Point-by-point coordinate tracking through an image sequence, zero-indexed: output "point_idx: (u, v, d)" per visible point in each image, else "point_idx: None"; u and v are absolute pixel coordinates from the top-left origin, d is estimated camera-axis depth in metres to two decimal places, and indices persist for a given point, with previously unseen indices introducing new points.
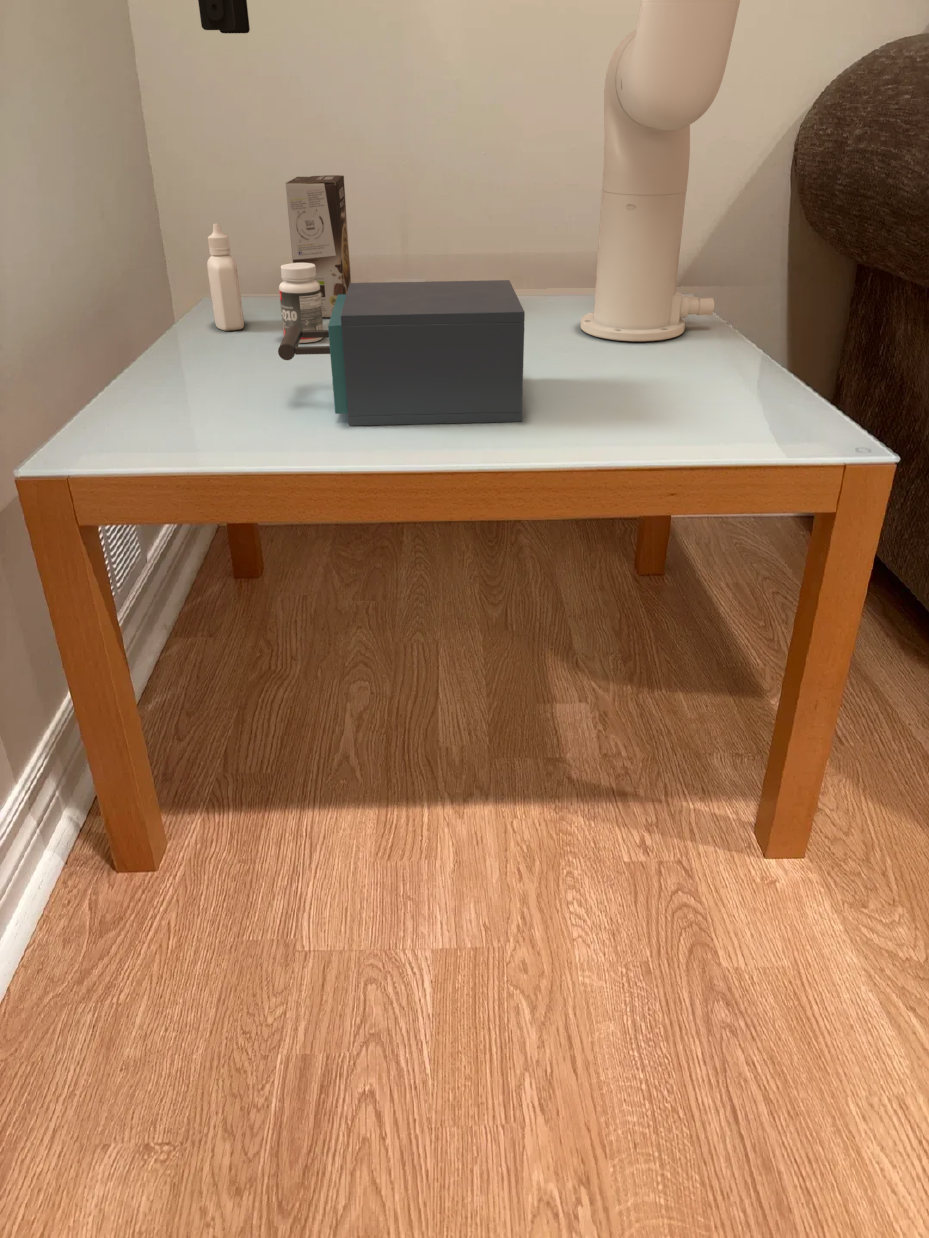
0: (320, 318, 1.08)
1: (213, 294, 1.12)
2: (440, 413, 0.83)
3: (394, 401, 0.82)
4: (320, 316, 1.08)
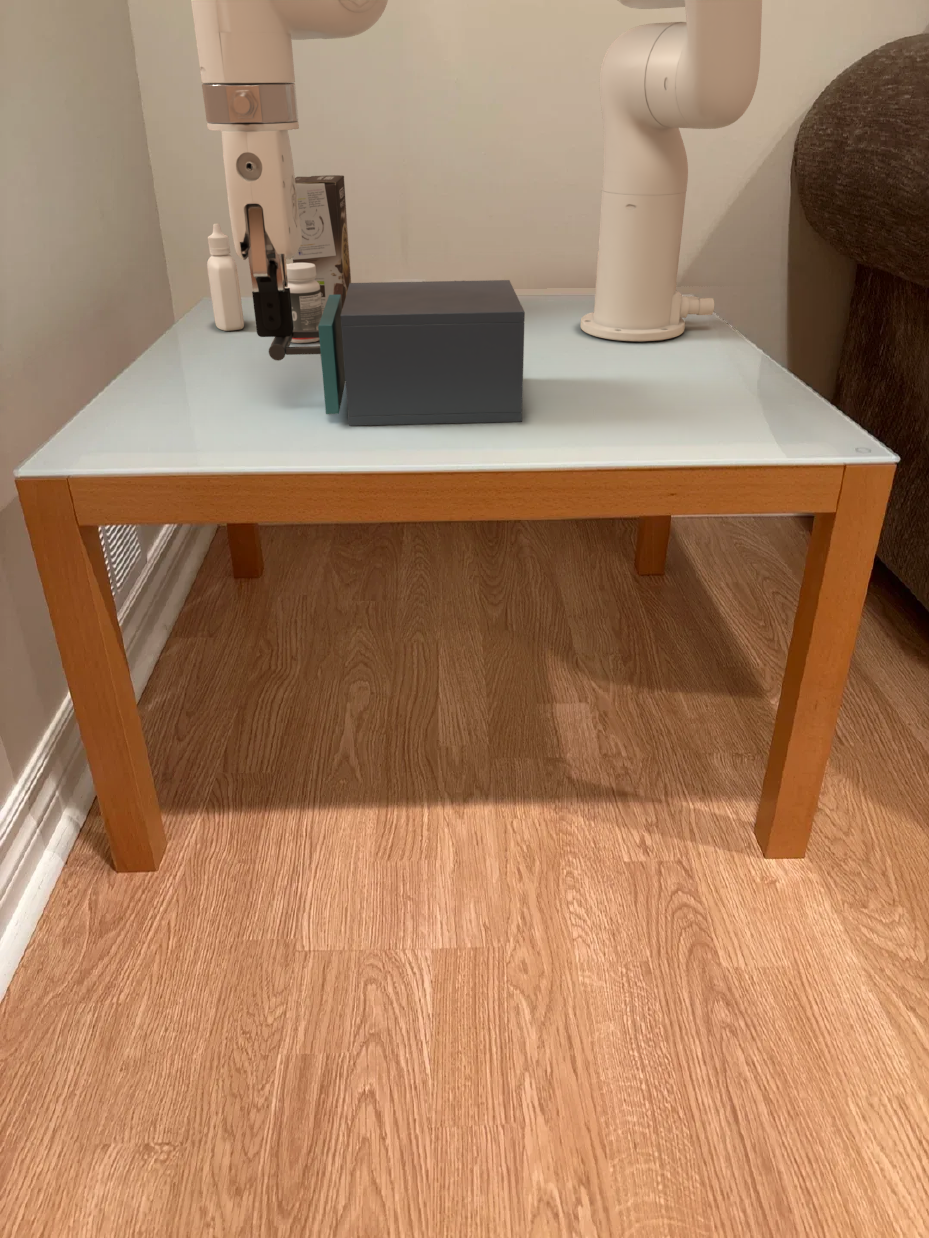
0: (320, 318, 1.08)
1: (213, 294, 1.12)
2: (440, 413, 0.83)
3: (394, 401, 0.82)
4: (320, 316, 1.08)
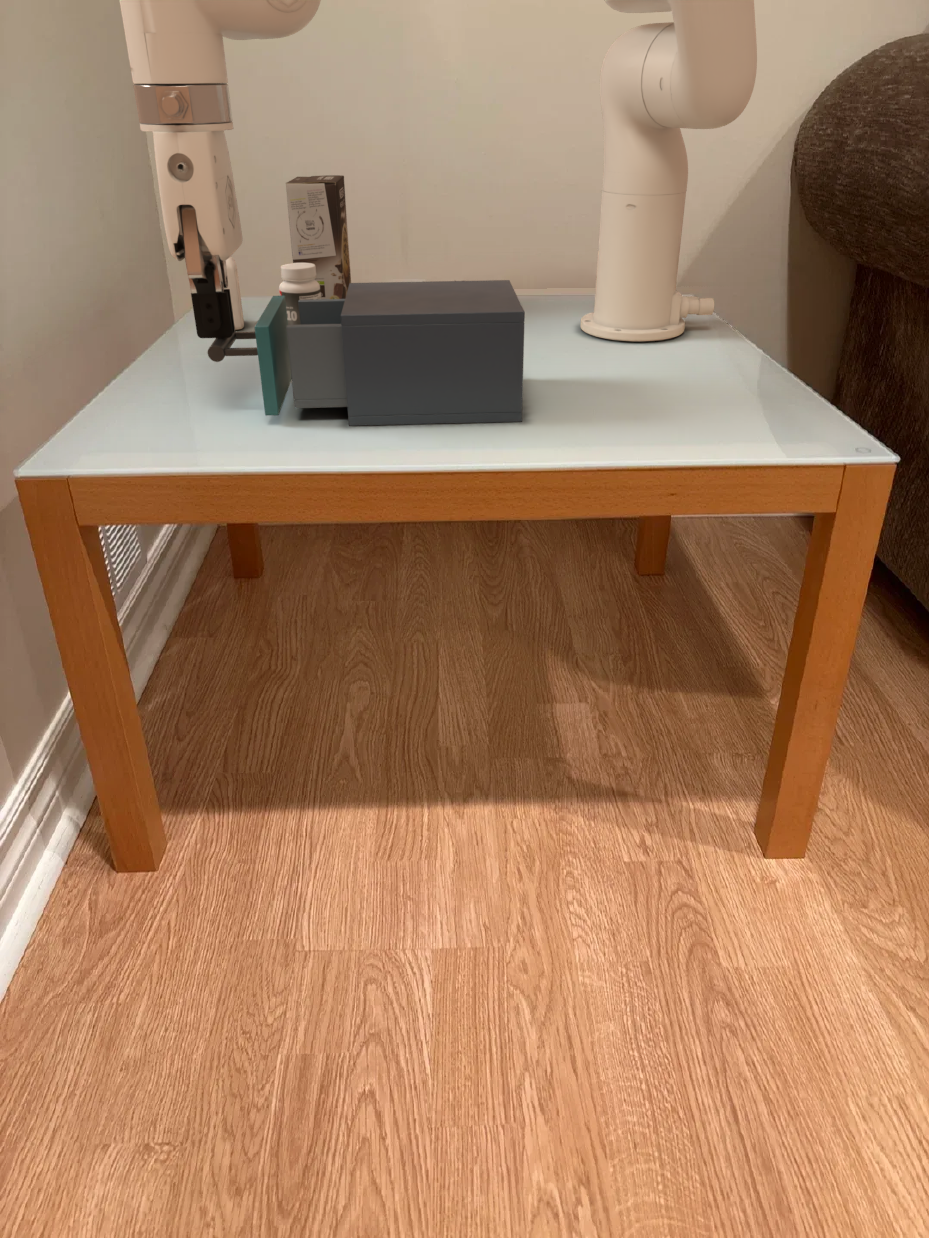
0: None
1: None
2: (440, 413, 0.83)
3: (394, 401, 0.82)
4: None
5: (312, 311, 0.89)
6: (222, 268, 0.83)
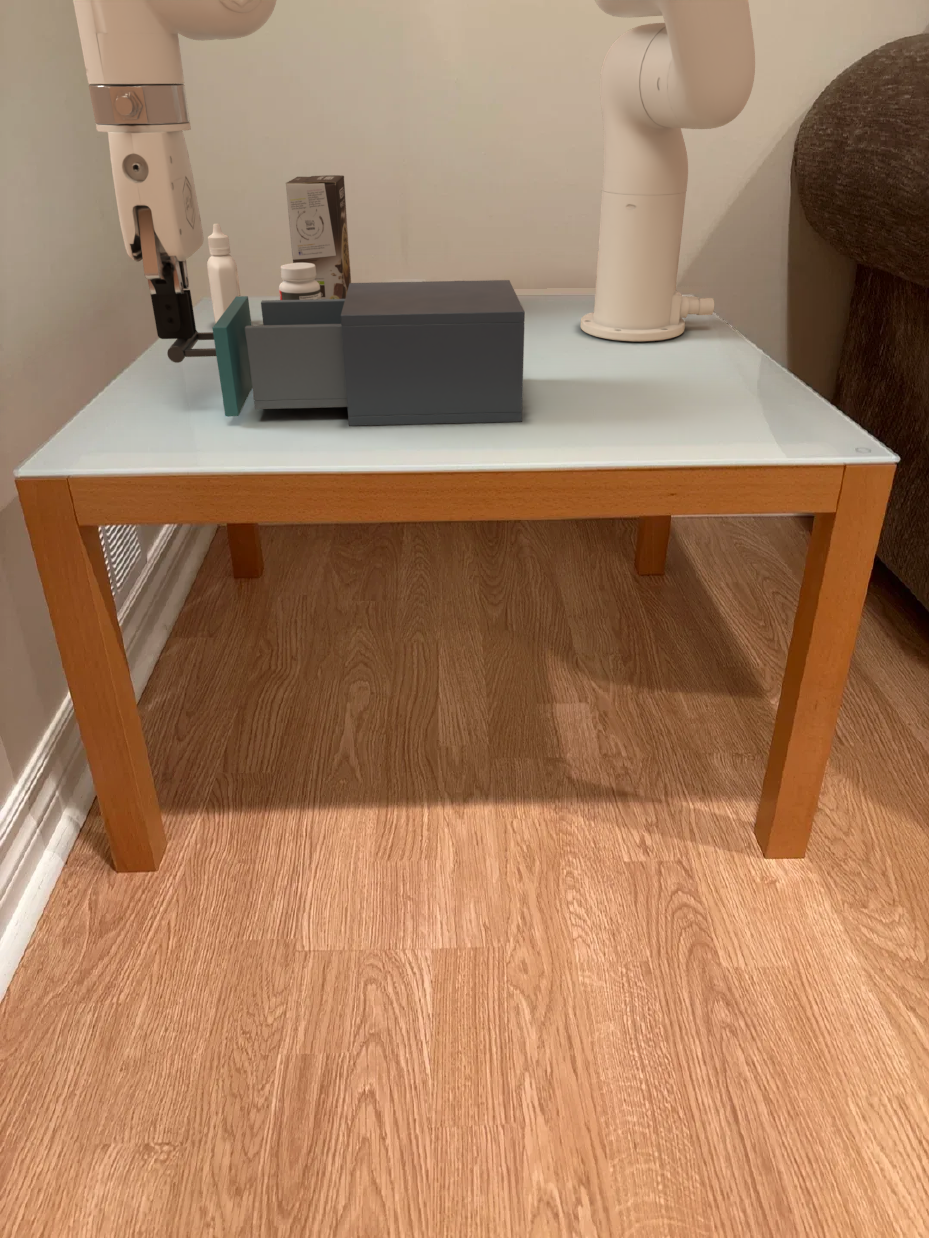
0: None
1: (213, 294, 1.12)
2: (440, 413, 0.83)
3: (394, 401, 0.82)
4: None
5: (274, 312, 0.89)
6: (182, 269, 0.83)
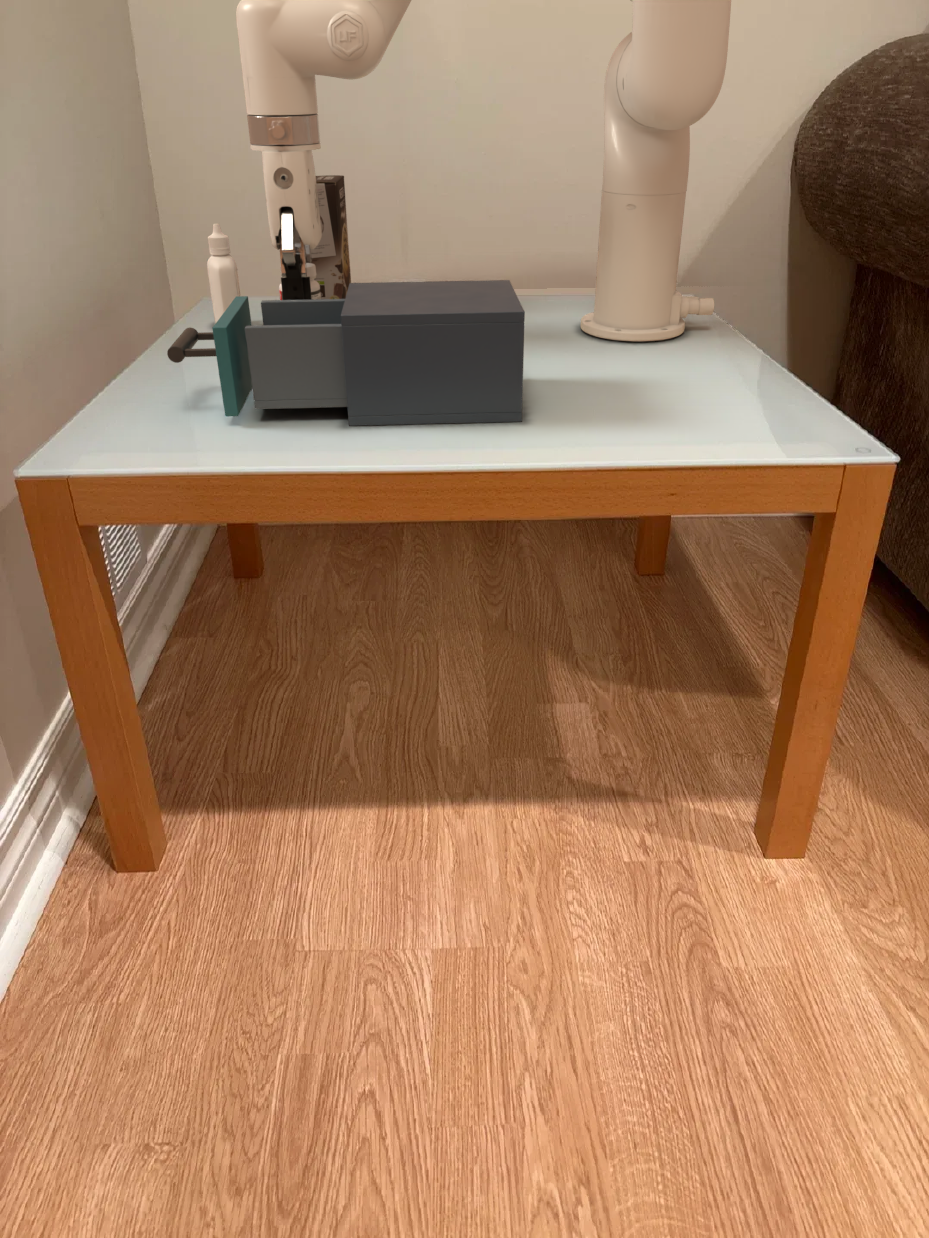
0: None
1: (213, 294, 1.12)
2: (440, 413, 0.83)
3: (394, 401, 0.82)
4: None
5: (274, 312, 0.89)
6: (309, 254, 1.08)
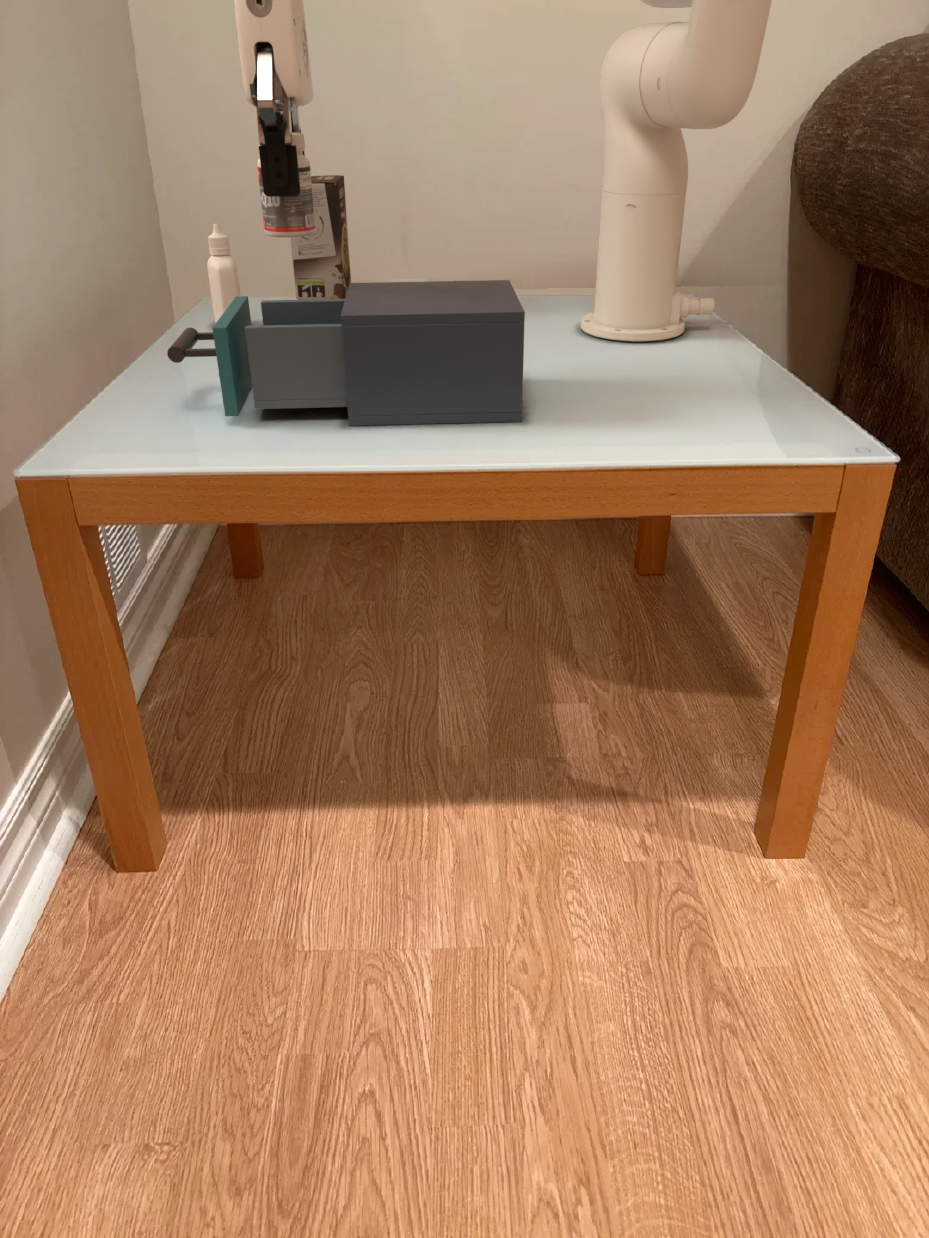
0: (310, 205, 0.84)
1: (213, 294, 1.12)
2: (440, 413, 0.83)
3: (394, 401, 0.82)
4: (311, 203, 0.84)
5: (274, 312, 0.89)
6: (296, 122, 0.84)
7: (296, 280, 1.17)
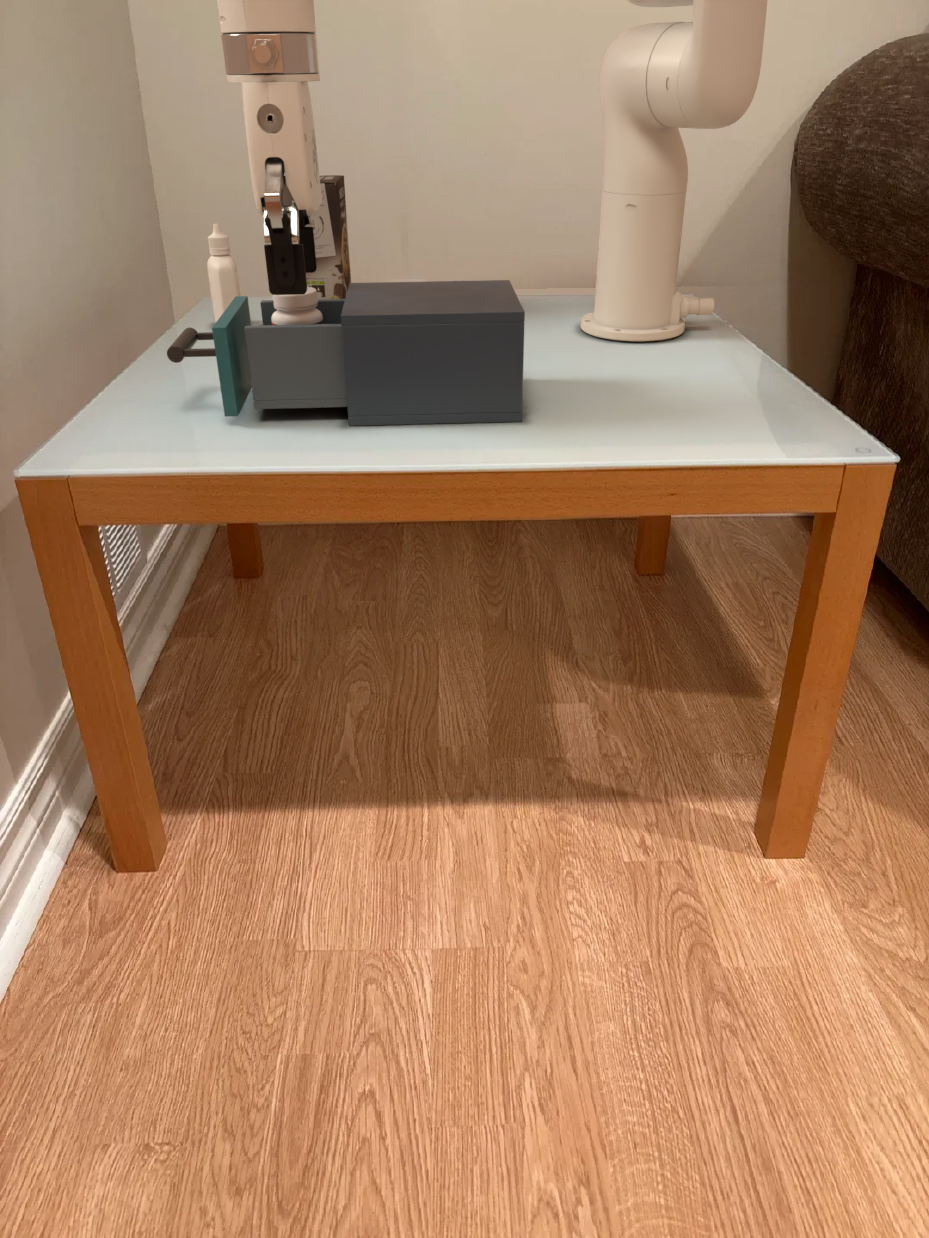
0: None
1: (213, 294, 1.12)
2: (440, 413, 0.83)
3: (394, 401, 0.82)
4: None
5: None
6: (306, 215, 0.84)
7: None
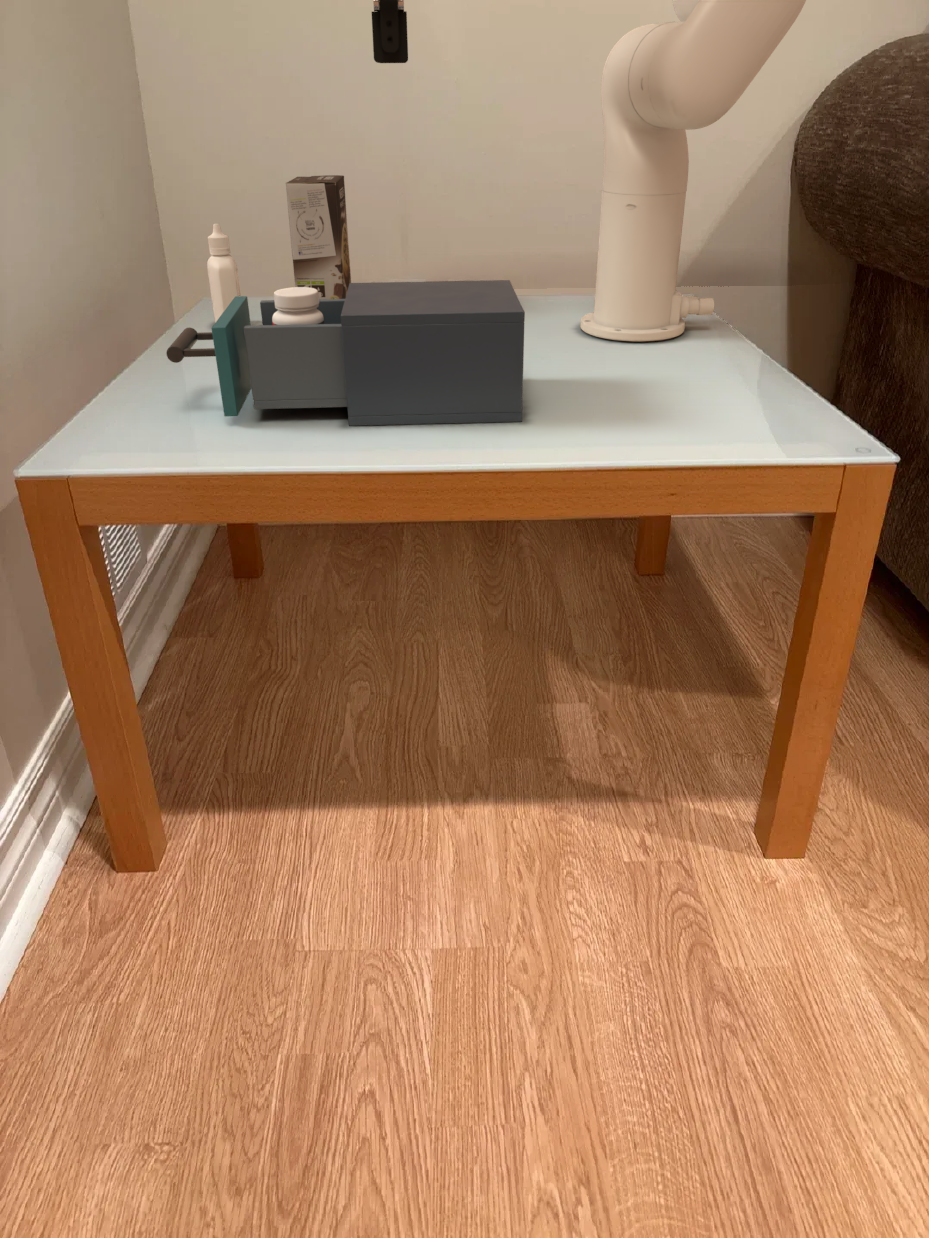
0: None
1: (213, 294, 1.12)
2: (440, 413, 0.83)
3: (394, 401, 0.82)
4: None
5: (274, 312, 0.89)
6: None
7: (296, 280, 1.17)
